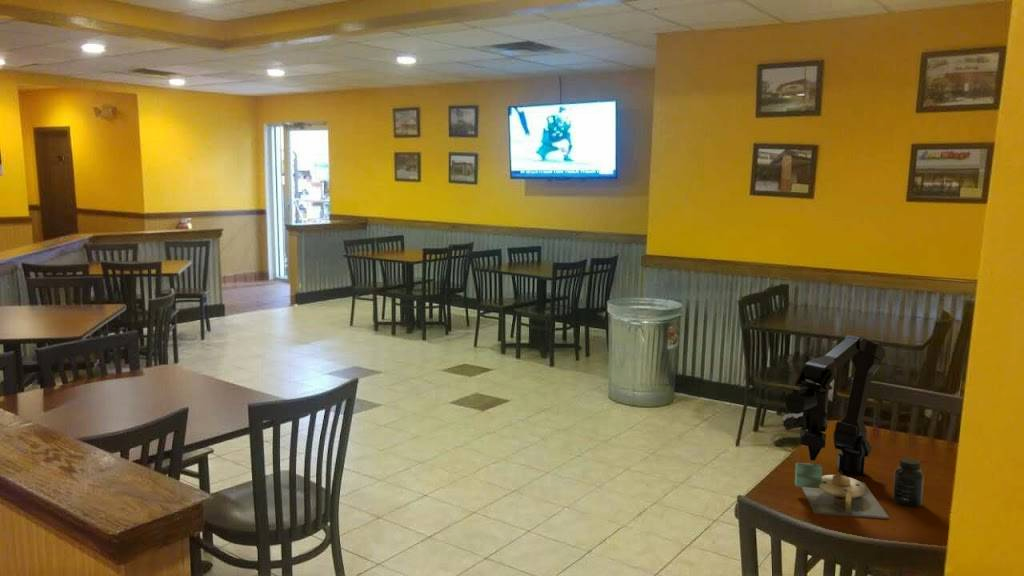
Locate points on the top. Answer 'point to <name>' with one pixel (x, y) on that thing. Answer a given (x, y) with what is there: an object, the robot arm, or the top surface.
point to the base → (844, 504)
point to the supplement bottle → (908, 483)
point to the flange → (826, 481)
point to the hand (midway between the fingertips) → (812, 460)
